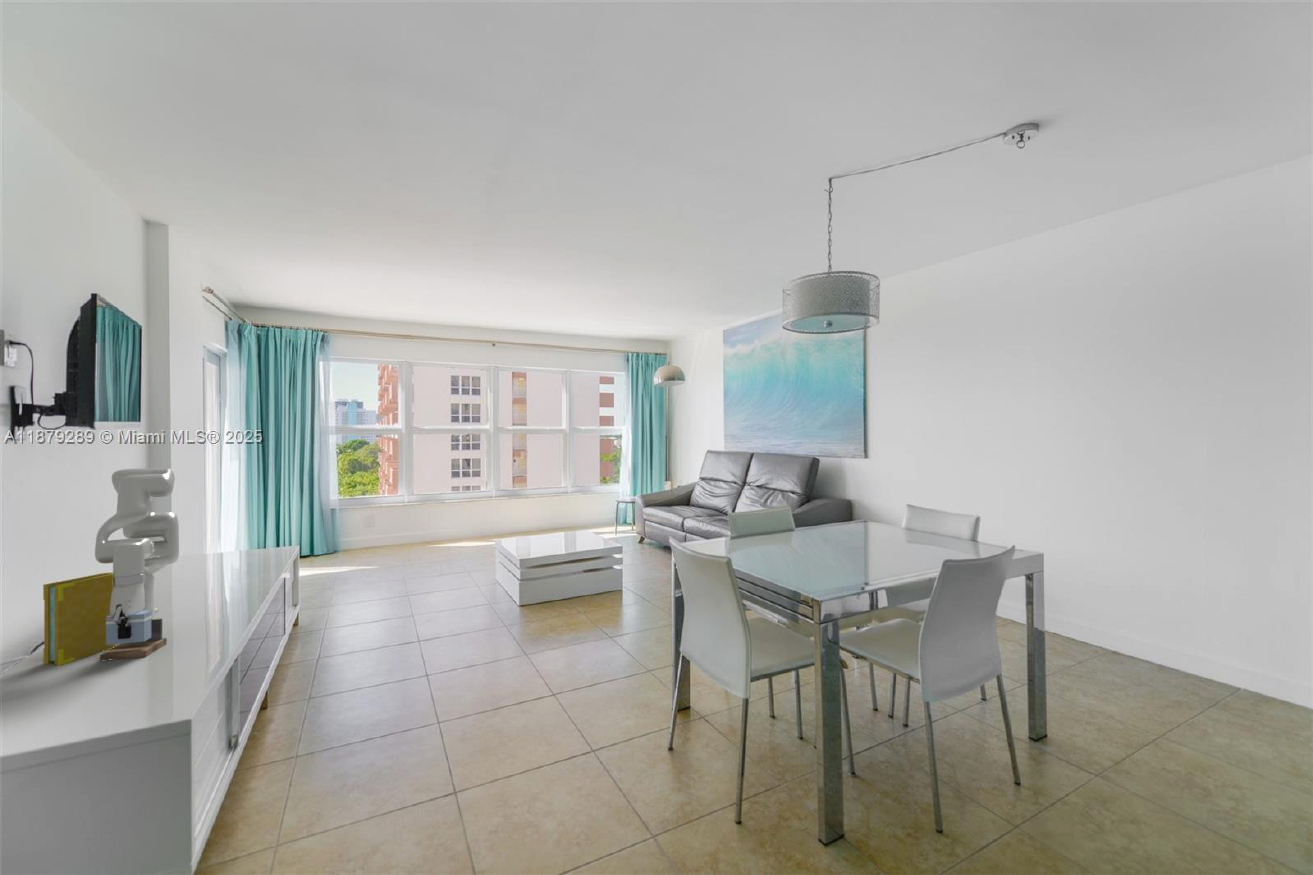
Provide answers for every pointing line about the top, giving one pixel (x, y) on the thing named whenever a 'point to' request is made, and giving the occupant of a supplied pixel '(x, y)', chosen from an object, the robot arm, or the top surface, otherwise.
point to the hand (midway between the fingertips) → (129, 635)
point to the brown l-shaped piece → (138, 645)
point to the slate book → (138, 629)
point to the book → (76, 617)
